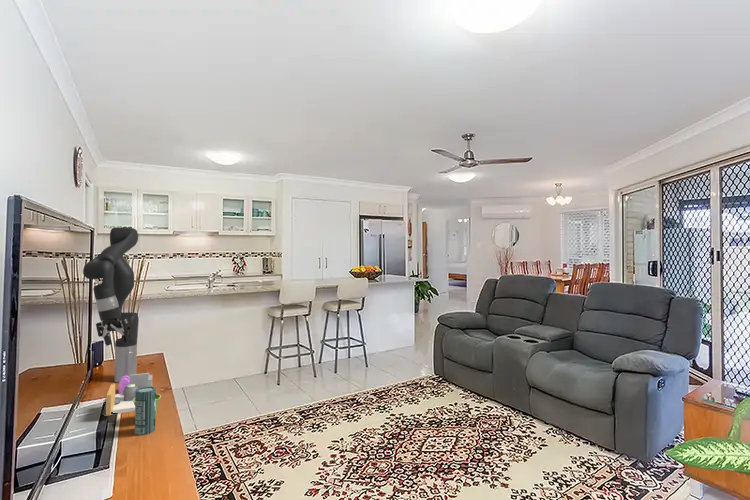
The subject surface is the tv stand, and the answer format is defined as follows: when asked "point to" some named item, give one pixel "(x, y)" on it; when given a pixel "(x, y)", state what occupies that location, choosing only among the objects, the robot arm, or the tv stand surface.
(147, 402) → the can
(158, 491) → the tv stand surface
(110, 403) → the tan upright panel
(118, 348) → the robot arm
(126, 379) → the bracket
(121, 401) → the plate
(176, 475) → the tv stand surface
